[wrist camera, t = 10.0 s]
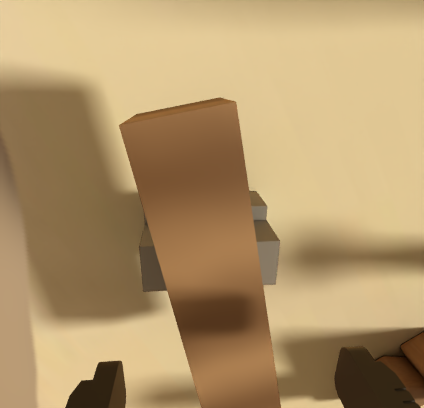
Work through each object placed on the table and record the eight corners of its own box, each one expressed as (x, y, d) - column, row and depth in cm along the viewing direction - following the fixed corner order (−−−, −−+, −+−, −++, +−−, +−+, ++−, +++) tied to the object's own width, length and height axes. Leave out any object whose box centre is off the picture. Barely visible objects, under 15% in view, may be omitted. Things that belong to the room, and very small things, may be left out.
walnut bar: (136, 114, 14) (118, 125, 10) (219, 97, 14) (235, 101, 10) (207, 380, 21) (214, 453, 17) (264, 367, 21) (285, 436, 17)
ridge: (148, 194, 22) (137, 230, 16) (256, 191, 23) (281, 225, 17) (152, 254, 24) (144, 305, 18) (252, 250, 25) (274, 297, 19)
